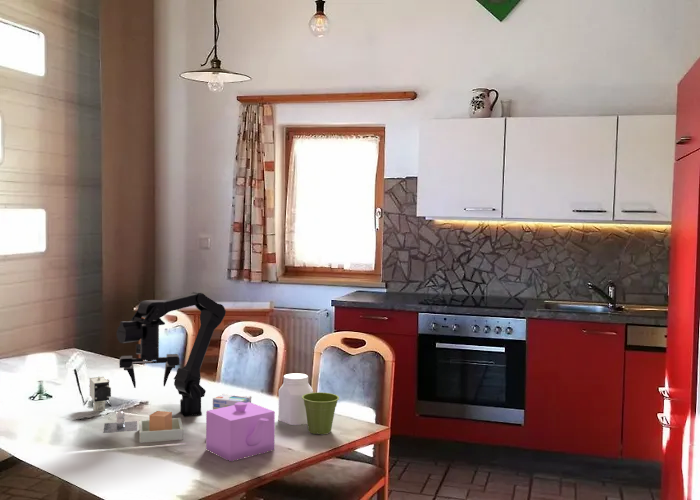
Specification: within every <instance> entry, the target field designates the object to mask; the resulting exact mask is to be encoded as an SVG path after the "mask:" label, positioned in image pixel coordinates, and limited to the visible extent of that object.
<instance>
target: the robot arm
mask: <svg viewBox="0 0 700 500" xmlns="http://www.w3.org/2000/svg"><path fill="white" fill-rule="evenodd" d="M192 306H195V308H196V309H197V310H198V311H199V312H200V315H199V322H200V326H199V329H198V331H197V335H196V337H195V340H194V343H193V344H192V348H191V351H190V353H189V356H188V359H187V362H186V364H185V365H184V366H183V367H182V368H181V367H178V368H177V370H176V373H175V376H174V378H173V380H174V381H173V385H174V387H175V389H176V390H177V392H178V395H179V396H180V395H181V399H180V400H179V403H180V405H179V411H180V414H181V415H182V416H183V417H186V416H187V417H189V416H202V415H203V412H202V398H204V397H205V395H206V392H207V390H206V389H205V388H204V387H202V386H201V380H202V379H201V368H202V365H203V361H204V358H205V356H206V354H207V351H208V348H209V346H210V342H211V340H212V336H213V334H214V332H215V330H216V329H217V328H218V326H220V325H221V323H222V322H223V320H224V318H225V317H226V312H227V311H226V308H225V307H224V305H223V304H221V303H217V302H216V301H214V300H213V299H212V298H209V297H208V296H207V295H205V294H204V293H203V292H198V291H192V292H191V293H188V294H187V293H186V294H182V295H179V296H174V297H172V298H171V297H170V298H167V299H166V298H165V299H160V300H159V299H149V300H147V299H146V300H143V301H140V302H139V305H138V307H137V310H136V311H135V313H134V314H133V316H132V317H131V318H130V320H129V321H125V320H124V321H120V322H119V326H118V327H117V330H116V338H117V341H118V342H119V343H120V344H127V343H133V342H139V341H140V343H136V344H135V354H136V355H140V356H139V357H137V358H135V357H134V358H133V355H121V356H120V357H119V369H123V371H127V373H128V375H129V377H130V379H131V382H132V385H133V388H135V389H136V388H137V387H136V385H137V384H136V376H135V375H136V374H135V368H134V365H148V364H165V366H164V367H165V369H164V375H163V387H166V384H167V382H168V378H169V376H170V374H171V372H172V370H173V369H175V368H176V366H180V360H181V358H180V355H179V354H178V353H167V354H166V356H164V357H163V356H161V357H160V350H159V349H160V345H159V344H160V336H159V335H160V333H159V332H160V326H163V325H166V323H165V321H164V320H162V317H165V316H166V315H167V314H168V313H170V312H174V311H177V310H181V309H185V308H189V307H192Z"/></svg>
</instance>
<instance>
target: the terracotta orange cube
mask: <svg viewBox="0 0 700 500" xmlns="http://www.w3.org/2000/svg"><path fill="white" fill-rule="evenodd" d="M172 418H173V412H172V411H165V410H156V411H155V412H153V413H151V414H150V415H149V418H148V420H149V431H158V430H172Z"/></svg>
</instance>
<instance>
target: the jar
mask: <svg viewBox="0 0 700 500" xmlns="http://www.w3.org/2000/svg"><path fill="white" fill-rule="evenodd" d="M277 392H278V393H277V394H278V415H277V416H278V417H277V420H278V421H279V422H283V423H285V424H288V425H289V426H302V425H301V424H303V425H307V424H306V423H307V416H306V408H305V405H304V399H302V396H303V395H305V394H308V393H314V390H313V387H312V386H311V385H310V383H309V376H308V375H307V374H305V373H297V372H296V373H293V372H292V373H287V374H284V375H283V383H282V385H281V386H280V388H279V389H278V391H277Z"/></svg>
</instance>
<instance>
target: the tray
mask: <svg viewBox="0 0 700 500" xmlns="http://www.w3.org/2000/svg"><path fill="white" fill-rule="evenodd" d="M138 424H139V431H138V432H139V443H151V442H152V443H153V442H167V441H179V440H180V441H181V440H184V428H183V427H184V426H183V423H182V418H181V417H172V430H158V431H149V419H142V420H139V423H138Z"/></svg>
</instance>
